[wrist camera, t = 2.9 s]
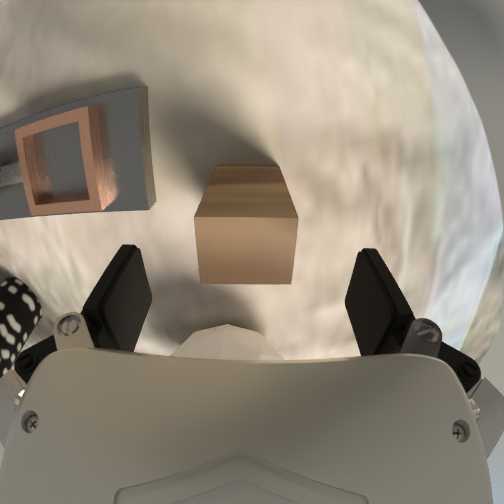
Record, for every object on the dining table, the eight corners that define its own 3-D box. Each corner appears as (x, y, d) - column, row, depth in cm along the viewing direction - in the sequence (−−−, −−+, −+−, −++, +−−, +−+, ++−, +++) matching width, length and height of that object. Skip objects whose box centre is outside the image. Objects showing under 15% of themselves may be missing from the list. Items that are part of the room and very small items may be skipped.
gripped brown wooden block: (216, 165, 22) (193, 217, 13) (279, 166, 22) (298, 218, 13) (218, 218, 24) (201, 294, 16) (276, 219, 24) (289, 295, 16)
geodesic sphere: (141, 311, 22) (143, 458, 18) (302, 313, 22) (302, 466, 17) (181, 327, 36) (181, 424, 31) (283, 328, 36) (284, 426, 31)
